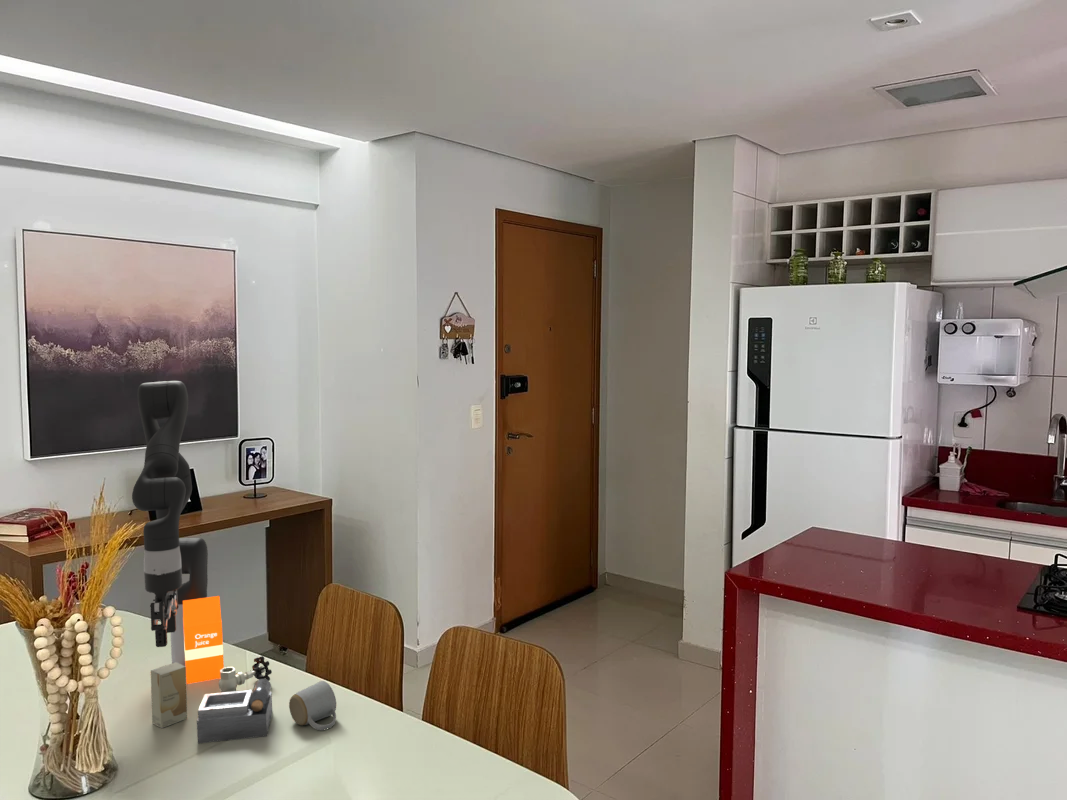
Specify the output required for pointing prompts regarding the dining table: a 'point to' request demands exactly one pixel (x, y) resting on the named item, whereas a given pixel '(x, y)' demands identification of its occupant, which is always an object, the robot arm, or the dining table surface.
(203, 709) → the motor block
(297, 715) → the ceramic mug
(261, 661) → the valve
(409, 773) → the dining table surface
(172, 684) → the skincare box
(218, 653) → the orange juice
